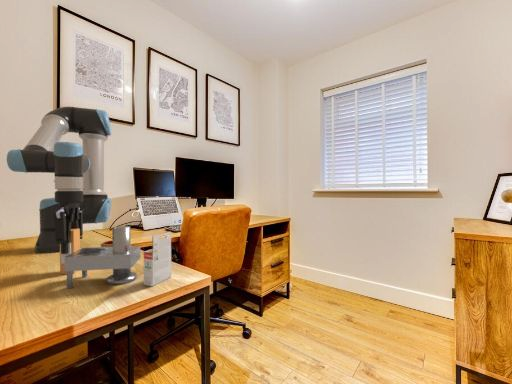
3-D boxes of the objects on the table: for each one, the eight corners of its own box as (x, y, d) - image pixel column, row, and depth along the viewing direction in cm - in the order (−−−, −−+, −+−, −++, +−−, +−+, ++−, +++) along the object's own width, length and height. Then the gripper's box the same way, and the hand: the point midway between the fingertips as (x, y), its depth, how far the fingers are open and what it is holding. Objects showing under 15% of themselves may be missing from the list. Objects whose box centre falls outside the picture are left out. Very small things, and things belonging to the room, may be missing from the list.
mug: (121, 259, 97) (121, 242, 97) (100, 262, 93) (100, 244, 93) (116, 252, 107) (116, 237, 107) (97, 255, 103) (97, 239, 103)
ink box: (142, 285, 73) (142, 234, 72) (162, 275, 80) (162, 230, 80) (152, 287, 72) (152, 236, 71) (171, 277, 79) (171, 231, 78)
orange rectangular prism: (67, 270, 85) (66, 228, 85) (80, 269, 86) (79, 228, 85) (60, 274, 81) (59, 231, 81) (74, 273, 82) (73, 230, 81)
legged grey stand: (140, 273, 83) (140, 224, 82) (130, 285, 73) (130, 230, 72) (83, 276, 80) (82, 225, 79) (65, 289, 70) (64, 231, 69)
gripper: (70, 189, 90) (71, 254, 91) (38, 190, 73) (40, 270, 74) (93, 189, 92) (94, 253, 92) (67, 191, 75) (68, 269, 76)
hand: (70, 260), depth 83 cm, fingers closed on orange rectangular prism, 4 cm apart
